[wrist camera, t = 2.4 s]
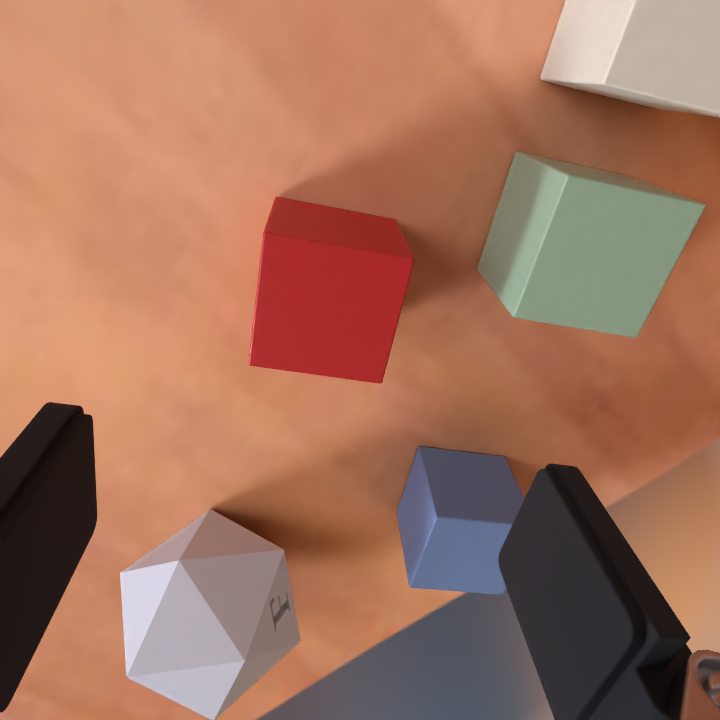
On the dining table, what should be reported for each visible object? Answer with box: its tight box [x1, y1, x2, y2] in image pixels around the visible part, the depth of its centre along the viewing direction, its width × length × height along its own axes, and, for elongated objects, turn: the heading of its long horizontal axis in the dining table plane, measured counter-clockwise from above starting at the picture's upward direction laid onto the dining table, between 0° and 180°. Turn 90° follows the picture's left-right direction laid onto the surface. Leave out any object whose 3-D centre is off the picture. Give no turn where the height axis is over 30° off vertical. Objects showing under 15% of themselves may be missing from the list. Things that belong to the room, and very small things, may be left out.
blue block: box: [397, 446, 525, 594], centre depth 27 cm, size 5×5×5 cm
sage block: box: [477, 151, 706, 338], centre depth 20 cm, size 5×5×5 cm
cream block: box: [540, 0, 720, 118], centre depth 16 cm, size 5×5×5 cm
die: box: [120, 509, 301, 720], centre depth 27 cm, size 8×9×10 cm
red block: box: [249, 197, 415, 383], centre depth 20 cm, size 5×5×5 cm
